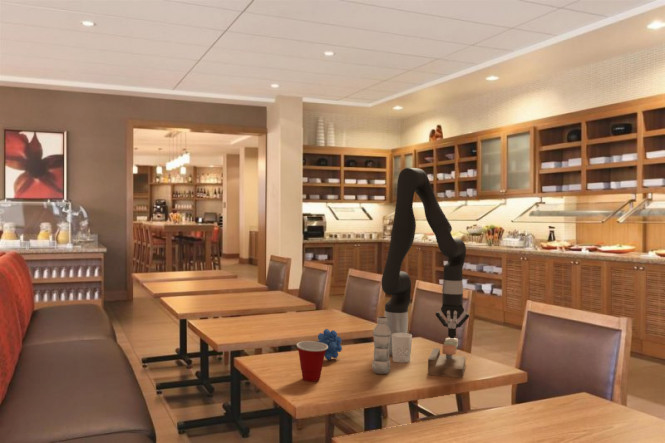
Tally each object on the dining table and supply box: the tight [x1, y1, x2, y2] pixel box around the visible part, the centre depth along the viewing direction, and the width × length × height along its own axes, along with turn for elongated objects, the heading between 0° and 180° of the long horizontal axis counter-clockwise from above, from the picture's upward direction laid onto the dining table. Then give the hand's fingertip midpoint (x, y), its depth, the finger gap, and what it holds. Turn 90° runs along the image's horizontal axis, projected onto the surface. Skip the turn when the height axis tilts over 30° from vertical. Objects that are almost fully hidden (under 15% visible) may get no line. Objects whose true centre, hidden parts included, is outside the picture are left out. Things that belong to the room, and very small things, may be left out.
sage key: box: [443, 341, 458, 351], centre depth 211 cm, size 5×5×4 cm
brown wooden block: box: [427, 347, 466, 379], centre depth 212 cm, size 12×18×5 cm, turn 164°
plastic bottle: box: [371, 315, 391, 375], centre depth 205 cm, size 6×7×20 cm
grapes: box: [316, 328, 343, 361], centre depth 222 cm, size 12×7×12 cm, turn 123°
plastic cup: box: [296, 340, 328, 383], centre depth 197 cm, size 11×11×12 cm
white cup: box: [392, 332, 413, 364], centre depth 223 cm, size 8×8×10 cm
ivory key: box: [444, 337, 459, 348], centre depth 217 cm, size 5×5×4 cm
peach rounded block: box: [442, 344, 457, 359], centre depth 206 cm, size 5×5×4 cm
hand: (451, 338), depth 217 cm, fingers closed
